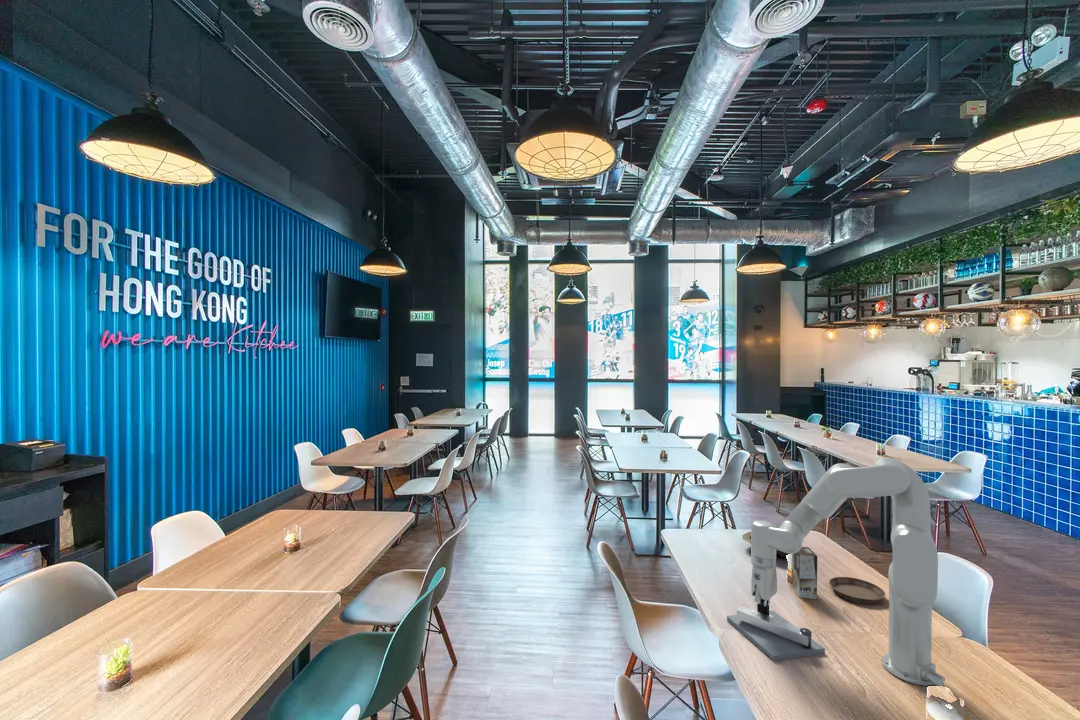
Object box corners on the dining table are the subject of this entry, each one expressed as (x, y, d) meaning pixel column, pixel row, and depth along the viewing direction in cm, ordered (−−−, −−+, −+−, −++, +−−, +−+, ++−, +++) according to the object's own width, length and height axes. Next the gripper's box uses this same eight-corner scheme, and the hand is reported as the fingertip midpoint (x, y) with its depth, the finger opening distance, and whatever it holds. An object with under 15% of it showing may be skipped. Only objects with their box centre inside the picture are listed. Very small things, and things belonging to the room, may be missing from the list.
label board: (824, 653, 140) (824, 647, 140) (773, 661, 136) (773, 654, 136) (772, 614, 162) (772, 609, 162) (726, 620, 157) (727, 615, 157)
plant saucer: (849, 607, 168) (849, 598, 168) (819, 583, 186) (819, 576, 186) (897, 607, 168) (897, 598, 168) (862, 584, 186) (862, 576, 186)
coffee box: (817, 599, 172) (818, 556, 172) (798, 597, 174) (799, 554, 174) (808, 588, 181) (809, 546, 181) (790, 586, 183) (791, 545, 183)
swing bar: (813, 644, 141) (813, 630, 141) (809, 650, 138) (809, 635, 138) (741, 616, 156) (741, 603, 157) (736, 621, 154) (736, 608, 154)
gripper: (766, 570, 146) (765, 629, 145) (784, 557, 156) (783, 612, 156) (742, 563, 151) (741, 619, 151) (761, 550, 161) (760, 604, 161)
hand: (763, 616), depth 153 cm, fingers closed
